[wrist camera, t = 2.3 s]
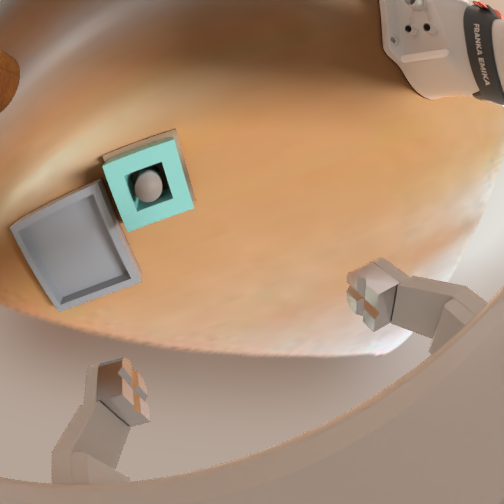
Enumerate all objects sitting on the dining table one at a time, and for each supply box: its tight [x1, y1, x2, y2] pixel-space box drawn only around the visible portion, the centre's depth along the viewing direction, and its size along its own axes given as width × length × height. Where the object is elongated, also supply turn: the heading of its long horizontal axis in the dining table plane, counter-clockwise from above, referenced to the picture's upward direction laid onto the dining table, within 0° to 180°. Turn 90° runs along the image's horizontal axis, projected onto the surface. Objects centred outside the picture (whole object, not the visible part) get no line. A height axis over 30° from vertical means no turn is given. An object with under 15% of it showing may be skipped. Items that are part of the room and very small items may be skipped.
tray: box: [10, 178, 141, 312], centre depth 24 cm, size 11×11×2 cm
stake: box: [103, 129, 196, 202], centre depth 22 cm, size 7×7×5 cm
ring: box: [102, 136, 194, 232], centre depth 22 cm, size 6×6×4 cm
